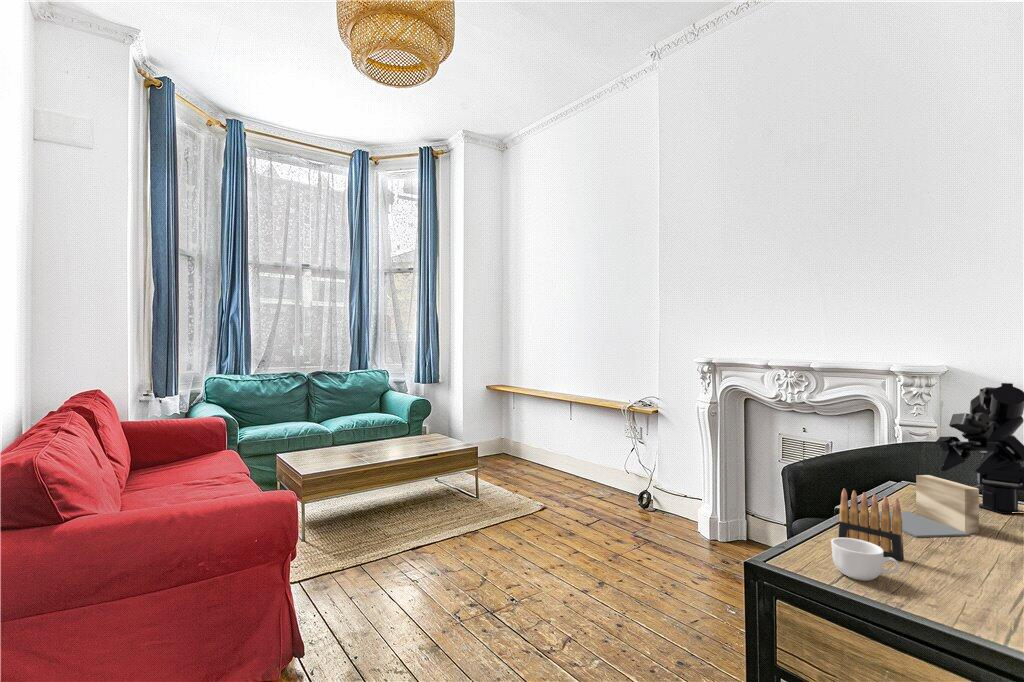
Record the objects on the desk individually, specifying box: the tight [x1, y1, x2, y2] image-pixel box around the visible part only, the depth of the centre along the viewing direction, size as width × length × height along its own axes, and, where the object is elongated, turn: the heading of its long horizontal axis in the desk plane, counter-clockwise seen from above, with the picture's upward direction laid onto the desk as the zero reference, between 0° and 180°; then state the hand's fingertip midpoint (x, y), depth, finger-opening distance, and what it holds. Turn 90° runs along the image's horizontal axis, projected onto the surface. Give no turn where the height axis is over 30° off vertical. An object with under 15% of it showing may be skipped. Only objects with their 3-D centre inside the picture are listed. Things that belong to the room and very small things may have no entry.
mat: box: [869, 511, 971, 538], centre depth 116 cm, size 13×15×1 cm
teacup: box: [830, 537, 900, 582], centre depth 89 cm, size 10×8×5 cm
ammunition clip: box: [837, 488, 905, 563], centre depth 100 cm, size 11×2×12 cm, turn 43°
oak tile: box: [915, 474, 980, 534], centre depth 117 cm, size 4×12×10 cm, turn 5°
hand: (958, 470), depth 119 cm, fingers open, 9 cm apart
